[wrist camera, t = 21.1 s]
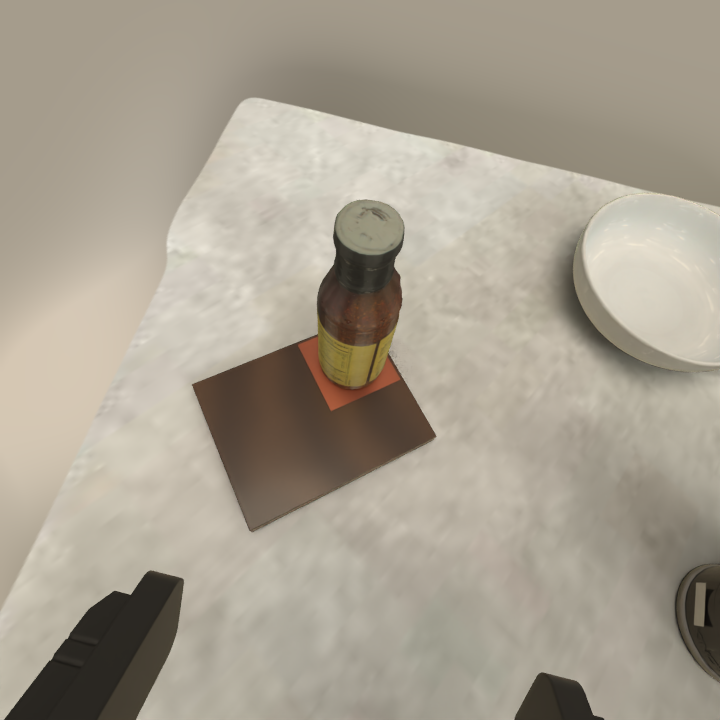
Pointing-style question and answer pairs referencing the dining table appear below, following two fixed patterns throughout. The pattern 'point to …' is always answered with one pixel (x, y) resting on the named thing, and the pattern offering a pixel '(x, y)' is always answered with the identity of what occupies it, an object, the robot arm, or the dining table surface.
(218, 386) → the walnut board
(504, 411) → the dining table surface
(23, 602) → the dining table surface
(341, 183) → the dining table surface
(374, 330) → the sauce bottle
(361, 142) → the dining table surface
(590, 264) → the serving bowl
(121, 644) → the robot arm
